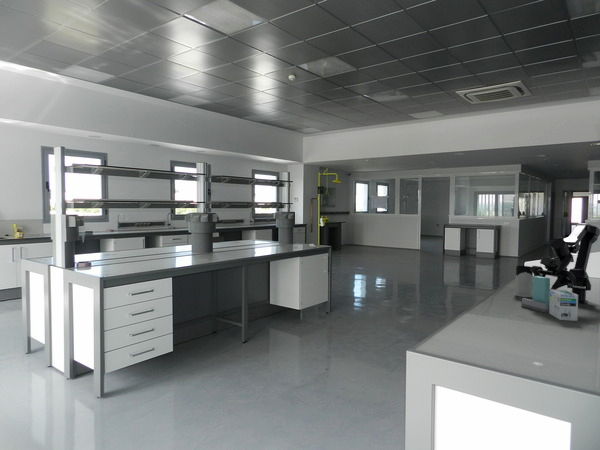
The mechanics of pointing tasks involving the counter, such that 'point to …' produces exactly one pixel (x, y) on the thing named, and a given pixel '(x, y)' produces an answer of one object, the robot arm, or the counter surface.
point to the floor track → (535, 305)
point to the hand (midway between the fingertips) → (542, 288)
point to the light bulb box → (563, 305)
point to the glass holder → (523, 281)
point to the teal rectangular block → (541, 289)
